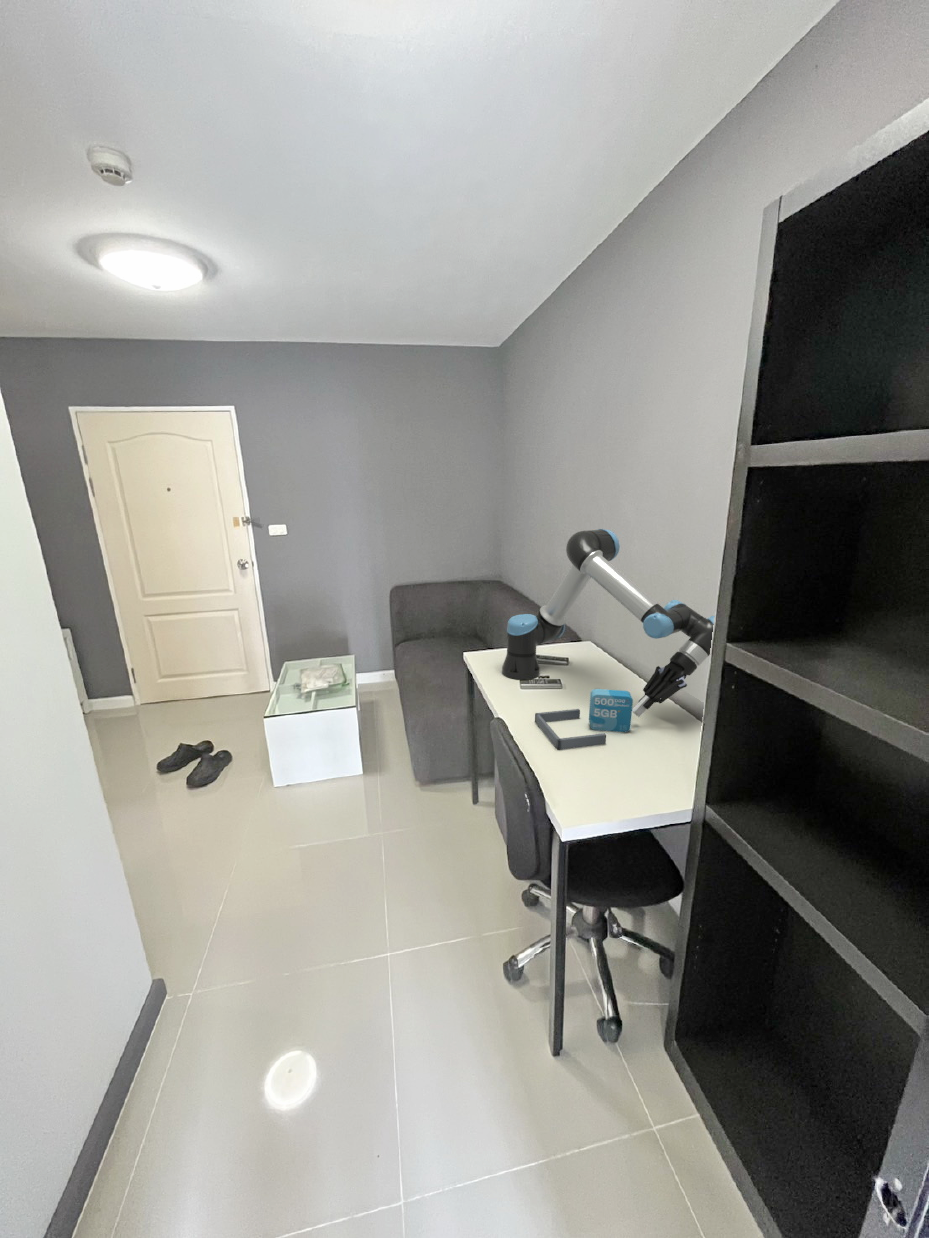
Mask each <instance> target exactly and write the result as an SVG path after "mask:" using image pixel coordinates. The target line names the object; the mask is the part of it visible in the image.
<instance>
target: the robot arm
mask: <svg viewBox="0 0 929 1238" xmlns="http://www.w3.org/2000/svg"><path fill="white" fill-rule="evenodd" d="M618 538H619V537H618V536H617V535H616V534H615V533H614V532H613V531H611V530H609V529H605V528H604V529H603V528H598V529H592V530H580V531H577V532H575V533H574V534H572V535H571V536H570V537H569V539H568V541H567V543H566V549H565V551H566V556H567V559H568V560H569V562H570V563H571V565H570V568H569V569H568V570H567V572H566V574H565V576H564V577H563V578H562V580H561V581H560V583H559V585H558V587H557V588H556V590H555V591H554V593H553V595H552V597H551V598H550V599H549V601H548V602H547V604H545V605H542V606H541V607H540V608H539V610H538V611H537V613H536V614H535V615H534V614H531V613H523V614H516V615H514V616H511V617H510V618H509V619H508V621H507V628H506V631H507V632H506V633H507V634H506V636H507V637H506V655H505V658H504V662H503V665H502V667H501V674H502V675H503V676H505V677H507V678H510V679H513V680H523V679H526V680H532V679H535V678H538V677H539V676H540V674H541V673H540V672H541V669H540V665H539V662H538V658H537V646H539V645H542V644H546V643H548V642H554V641H556V640H558V639H560V638H561V637H562V636H563V634H564V633H565V629H566V626H565V625H566V621H567V619H566V616H567V615H568V612H569V611H570V610H571V608H572V607H573V605H574V603H576V601H577V599H578V598H579V596H580V595H581V593H582V592H583V590H584V589H585V588H586V586H587V585H588V584H589V582H590V580H591V578H592V579H593V581H595V582H596V583H597V584H598V585H599V586H601V588H602V589H604V590H605V591H606V592H607V593H608V594H610V595H611V596H612V597H613V598H614V599H615V600H617V602H619V603H620V605H622V606H623V607H624V608H626V610H627V611H628V612H630V613H631V614H632V615H633V616H634V617H636V618H637V620H639V621H640V622H641V623H642V625H643V626H642V628H643V630H644V633H645V634H646V635H647V636H648V637H650V638H651V639H654V640H655V639H663V638H666V637H669V636H670V635H672V634H677V633H679V632H681V633H683V634H685V636H686V637H689V639H688V640H686V642H684V643H683V644H682V646H680V648H678V651H676V652H675V653H674V654H673V655H672V656H671V657H670V658H669V663H668V664H666V665H664V667H661V666H659V665H657V666H656V668H655V670H654V672H653V674H652V675H651V677H650V678H649V680H648V681H647V682H646V683H645V686H644V687H643V688H642V691H643V692H644V695H643V696H642V697H641V698H640V699H639V700H638V703H637V704H635V706H634V707H632V713H633V714H634V715H636V716H637V717H638V718H639V717H641V716H642V715H643V714H644V712H645V711H647V710H649V709H650V708H651V706H653V705H654V704H655V703H658V704H662V703H664V702H665V701H666V700H667V699H669V698H670V697H672V696H673V695H675V694H676V693H677V692H678V691H681V690H682V689H684V688H687V686H688V684H687V683H686V681H685V679H686V678H687V676H691V675H692V674H693V673H694V672H695V671H696V670H697V668H698V666H701V664H702V663H703V662H704V661H705V660H706V659H708V657H709V656H710V655H711V654H710V648H711V640H712V632H713V625H714V617H715V616H716V615H710V617H708V618H706V617H704V616H703V615H701V614H699V613H698V612H697V611H695V610H694V609H692V608H691V607H689V605H687V604H685V603H683V602H681V601H680V600H679V599H678V600H677V599H672V600H671V601H669V602H667V603H666V604H665V606H664V607H663V606H661V604H660V603H658V602H657V601H656V600H655V599H653V598H652V597H651V596H650V595H649V594H648V593H646V592H645V591H644V590H643V589H642V588H640V586H638V585H637V584H636V583H635V582H634V581H632V580H631V579H630V578H629V577H628V576H626V575H625V573H623V572H621V571H620V569H619V568H617V567H616V566H614V565H613V564H612V563H611V561H612V560H614V559H615V558H616V557H617V556H618V555H619V553H620V540H619V539H618Z"/></svg>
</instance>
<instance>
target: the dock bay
mask: <svg viewBox="0 0 929 1238" xmlns="http://www.w3.org/2000/svg"><path fill="white" fill-rule="evenodd" d="M580 715H581V710H580V708H572V709H565V710H563V709H561V710H556V711H555V710H553V711H543V712H535V713H534V723H535V724H536V726H537V727H538V728H539V729H540V730H541V732H542V733H543V734H544V735H545V737H546V738H547V739H548V740H549V742H550V743H551V744H552V745H553V747H555V749H556V750H557V751H560V750H561V751H563V750H568V749H577V748H586V747H593V746H604V745H606V744H607V743H606V742H607V734H606V733H595V734H586V735H579V736H571V737H562V738H560V737H559V736H558V734H557V733H556V732H555V731H554V730H553V729H552V727H551V726H550V725H549V724H548V723H549V722H550V723H551V722H560V721H569V720H577V719H578V720H579V719H580Z"/></svg>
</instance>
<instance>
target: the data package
mask: <svg viewBox="0 0 929 1238" xmlns="http://www.w3.org/2000/svg"><path fill="white" fill-rule="evenodd" d="M589 696H590V697H589V712H588V724H589V727H590V728H591V730H593V731H600V732H601V731H602V732H612V733H613V732H617V733H628V732H629V731H630V730H631V723H632V713H633V711H632V709H633V705H634V704H633V703H634V700H633V697H632V695H631V693H630V692H629V691H628V690H621V689H619V690H618V689H604V688H602V689H601V688H594V689H592V690H591V691H590V695H589Z"/></svg>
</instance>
